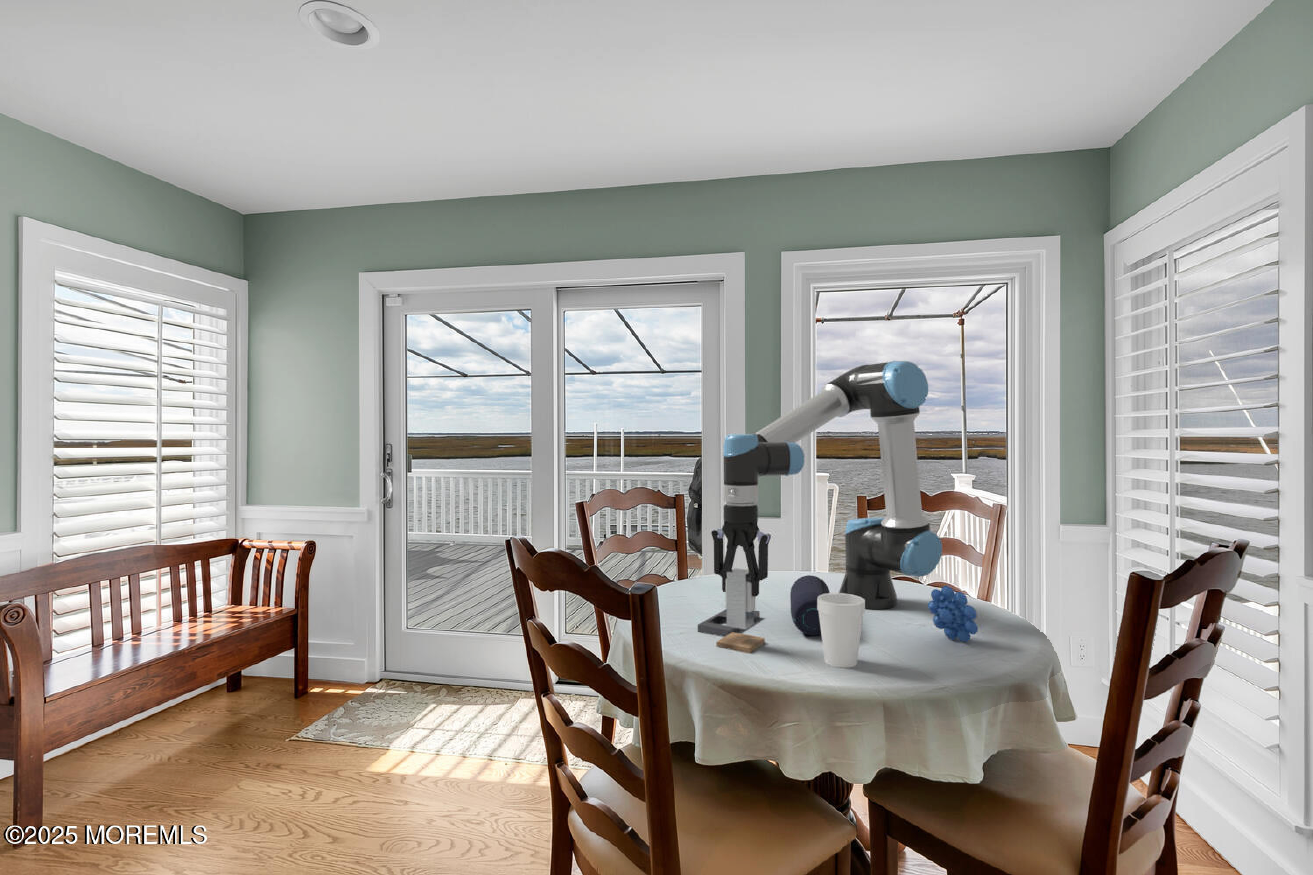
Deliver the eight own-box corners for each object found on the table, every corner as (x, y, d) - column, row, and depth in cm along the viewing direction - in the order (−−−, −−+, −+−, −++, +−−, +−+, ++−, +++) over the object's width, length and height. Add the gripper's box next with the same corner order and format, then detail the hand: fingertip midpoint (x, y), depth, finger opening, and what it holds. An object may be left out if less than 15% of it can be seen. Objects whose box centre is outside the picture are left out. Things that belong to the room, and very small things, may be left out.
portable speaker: (836, 641, 147) (836, 597, 147) (790, 638, 149) (790, 595, 148) (828, 610, 171) (829, 572, 171) (790, 608, 173) (790, 571, 173)
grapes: (917, 636, 149) (917, 584, 149) (934, 631, 153) (934, 580, 153) (966, 650, 140) (967, 595, 140) (983, 644, 144) (983, 590, 144)
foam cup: (811, 654, 138) (811, 593, 138) (853, 653, 139) (853, 592, 139) (826, 671, 129) (826, 605, 128) (872, 669, 129) (872, 604, 129)
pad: (764, 642, 146) (764, 637, 146) (749, 652, 139) (749, 648, 139) (732, 636, 150) (732, 631, 150) (716, 646, 143) (716, 641, 143)
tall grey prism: (753, 624, 145) (754, 570, 145) (745, 629, 141) (745, 574, 141) (735, 620, 148) (735, 568, 147) (726, 626, 144) (726, 571, 144)
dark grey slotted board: (759, 617, 165) (759, 610, 165) (728, 637, 150) (728, 629, 150) (730, 612, 169) (730, 606, 169) (697, 631, 154) (697, 624, 154)
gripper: (697, 502, 146) (697, 606, 146) (771, 508, 136) (771, 619, 137) (712, 499, 152) (712, 599, 152) (784, 504, 143) (784, 610, 143)
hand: (740, 608), depth 144 cm, fingers closed on tall grey prism, 4 cm apart
